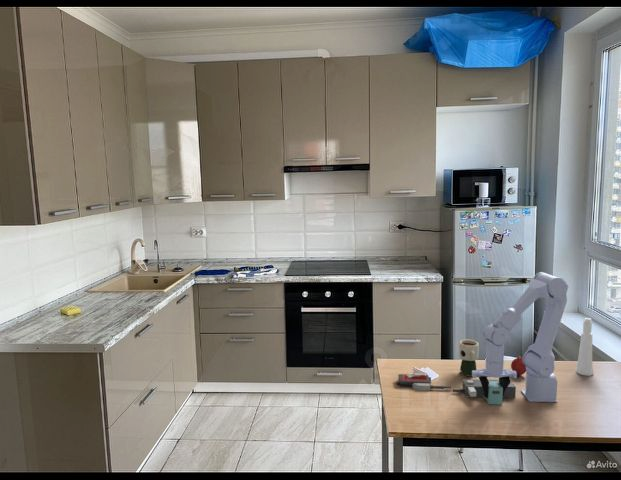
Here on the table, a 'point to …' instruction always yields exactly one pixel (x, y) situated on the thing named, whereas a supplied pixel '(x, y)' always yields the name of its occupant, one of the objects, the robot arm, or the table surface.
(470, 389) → the block
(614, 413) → the table surface
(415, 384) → the walkie-talkie
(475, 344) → the character mug
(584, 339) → the cosmetic bottle
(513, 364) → the onion
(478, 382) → the power strip
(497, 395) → the charger
